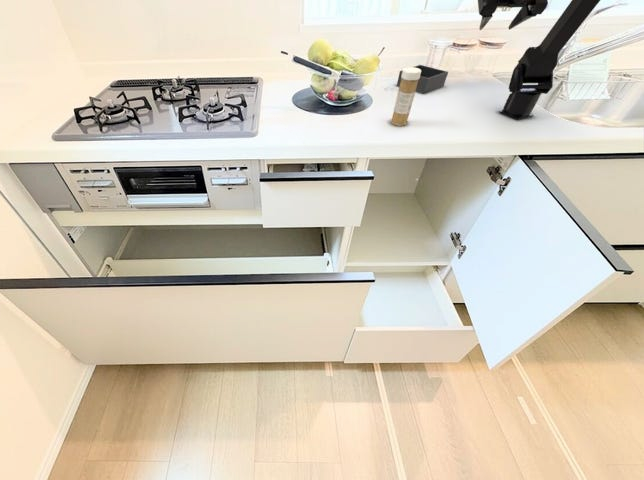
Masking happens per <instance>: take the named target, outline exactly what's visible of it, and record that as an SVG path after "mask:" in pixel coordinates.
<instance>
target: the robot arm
mask: <svg viewBox="0 0 644 480" xmlns="http://www.w3.org/2000/svg"><path fill="white" fill-rule="evenodd" d="M600 2H601V0H571V1H570V2H569V4H568V5H567V7H566V8H565V9H564V11H563V12H562V13H561V15H560V16H559V17H558V19H557V21H556V22H555V23H554V25H553V26H552V27H551V29H550V30H549V31H548V32H547V34H546V35H545V37H544V39H542V41H541V42H540V44H538V45H537V46H529V47H528V48H527V49H526V50H525V51H524V53H523V55H522V56H521V58H520V59H518V61H517V64H516V66H515V67H514V68H513V70H512V74H511V78H510V80H509V84H508V92H509V95H508V97H507V99H506V101H505V104H504V105H503V109H500V110H499V113H500V114H502V115H505V116H506V117H509V118H512V119H513V120H517V121H519V120H523V119H527V118H530V117H533V116H534V113H532V112H533V110H534V108H535V106H536V105H537V103H538V101H539V99H540V98H541V95H542V94H545V95H546V94H548V93H549V92H550V91H551V90H552V88H553V86H554V85H553V84H554V71H555V69H556V67H557V66H558V61H559V54H560V53H561V51H562V50H563V48H564V47H565V46H566V45H567V44H568V42H569V41H570V39H571V38H572V37H573V36H574V34H576V32H577V31H578V29H579V28H580V27H581V26H582V25H583V23H584V22H585V20H586V19H587V18H588V17H589V15H590V14H591V13H592V12H593V10H594V9H595V8H596V7H597V5H598V4H599V3H600ZM477 6H478V14H479V16H481V19H480V22H479V23H480V24H479V28H478V29H479V31H482V30H483V29H484V28H485V27H486V26H487V24H488V23H489V21H490V20H491V19H492V18H493V17H494V16H493V14H495V12H496V11H497V9H505V8H506V9H507V8H509V9H510V8H520V9H519V11H518V12H517V14H516V15H515V17H514V18H513V19H512V21H511V22H510V23H509V26H508V30H513V28H515V27H517V26H519V25H520V24H522V23H524V22H526V21H528V20H530V19H531V18H534V17H537V15H542V14H543V13H544V12H545V11H546V9H547V8H548V6H549V0H477Z"/></svg>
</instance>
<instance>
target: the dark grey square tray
mask: <svg viewBox="0 0 644 480" xmlns="http://www.w3.org/2000/svg"><path fill="white" fill-rule="evenodd" d="M413 67H414V68H419V69H420V70H421V75H420V78H419V80H418V83H417V87H416V91H415V93H419V94H422V95H425V94H427V93H430V92H433V91H436V90H439V89H441V88H443V87H444V86H445V83H446V81H447V78H448V75H449V71H446V70H444V69H440V68H436V67H435V68H434V67H431V66H428V65H424V64H418V65H415V66H413ZM402 72H403V69H401V70H400V71H399V74H398V78H397V83H396V86H397V87H398V88H399V87H400V83H401V78H402V77H401V76H402Z"/></svg>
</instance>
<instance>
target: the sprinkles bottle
mask: <svg viewBox="0 0 644 480" xmlns="http://www.w3.org/2000/svg"><path fill="white" fill-rule="evenodd" d="M402 70H403V72H402V76H401V77H402V78H401V83H400V87H399V86H398V90H397V96H396V99H395V103H394V107H393V113H392V115H391V116H392V117H391V119H390V123H391V125H394V126H401V127H402V126H406V125H407V124H408V119H409V115H410V113H411V109H412V106H413V103H414V98H415V94H416V87H417V83H418V80H419V78H420V75H421V70H420V69H419V68H414V66H408V67H404V68H403V69H402Z"/></svg>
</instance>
